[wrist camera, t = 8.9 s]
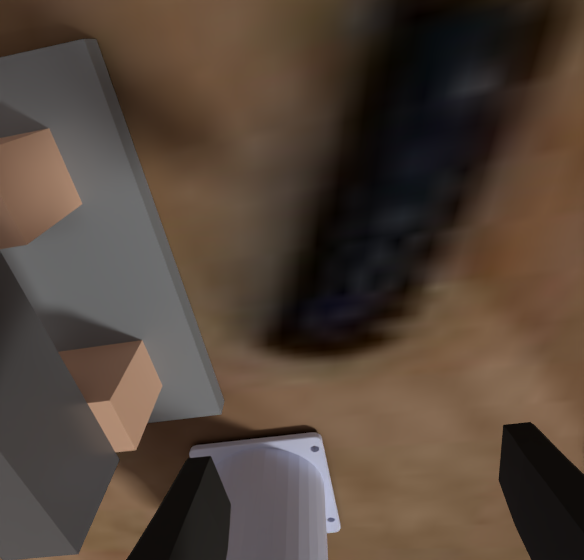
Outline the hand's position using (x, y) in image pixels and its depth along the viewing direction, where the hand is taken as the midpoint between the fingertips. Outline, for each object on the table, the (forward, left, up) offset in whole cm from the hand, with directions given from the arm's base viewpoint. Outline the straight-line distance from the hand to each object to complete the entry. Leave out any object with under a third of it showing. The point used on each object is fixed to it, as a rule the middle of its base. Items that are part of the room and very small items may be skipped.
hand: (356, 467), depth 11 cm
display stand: (+2, +12, -10) cm, 16 cm away
